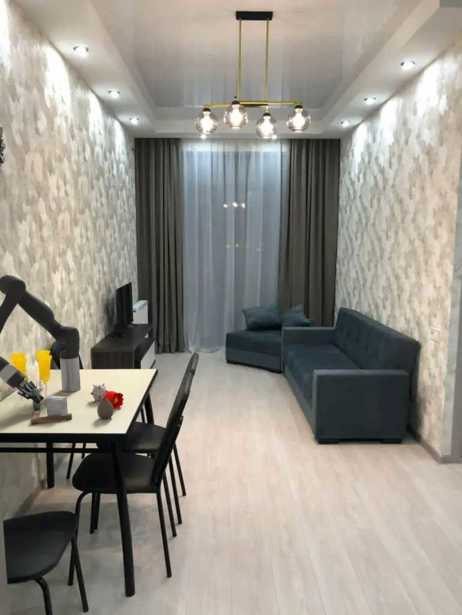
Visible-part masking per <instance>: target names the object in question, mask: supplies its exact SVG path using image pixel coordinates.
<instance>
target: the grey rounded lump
mask: <svg viewBox="0 0 462 615" xmlns="http://www.w3.org/2000/svg"><path fill="white" fill-rule="evenodd" d="M114 410H115V409H114V408H113V405H112V404H111V402H110V401H109V400H108V399H107V398H103V399H102V400H100V402H99V404H98V405H97V408H96V413H97V416H98V418H99V419H100V420H103V421H107V420H110V419H111V418H112V417H113V415H114Z"/></svg>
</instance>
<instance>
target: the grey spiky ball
mask: <svg viewBox="0 0 462 615" xmlns="http://www.w3.org/2000/svg"><path fill="white" fill-rule="evenodd" d="M92 386H93V388H92V392H90V395H92V398H93V399H94V400H93V402H94V403H95V402H96V401H101V400H102V399H103V396H104V395H105V394H106V393H107V392H108V391H109V390H107V388H106V386H105V383H103V384H100V385H99V384H98V385H97V384H96V385H95V384H92Z"/></svg>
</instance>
